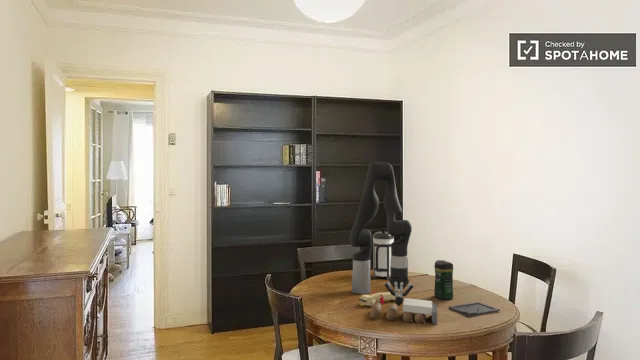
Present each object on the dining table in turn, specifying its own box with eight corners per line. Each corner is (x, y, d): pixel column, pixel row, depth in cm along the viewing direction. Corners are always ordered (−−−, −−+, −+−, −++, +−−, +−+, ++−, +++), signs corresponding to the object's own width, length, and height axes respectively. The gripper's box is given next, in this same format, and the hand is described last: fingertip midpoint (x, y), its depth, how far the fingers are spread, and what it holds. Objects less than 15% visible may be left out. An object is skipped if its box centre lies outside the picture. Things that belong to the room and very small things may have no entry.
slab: (402, 311, 190) (403, 304, 190) (404, 304, 200) (404, 298, 199) (431, 314, 187) (432, 307, 187) (431, 307, 197) (432, 301, 197)
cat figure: (394, 299, 227) (353, 302, 214) (395, 282, 227) (355, 284, 215) (407, 304, 218) (365, 308, 206) (408, 286, 218) (367, 289, 206)
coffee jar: (455, 299, 223) (456, 262, 222) (441, 300, 220) (441, 263, 220) (445, 294, 232) (445, 258, 232) (431, 295, 230) (432, 259, 230)
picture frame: (469, 318, 195) (499, 312, 203) (469, 313, 195) (499, 308, 203) (448, 309, 207) (478, 304, 215) (448, 305, 207) (478, 300, 215)
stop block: (432, 324, 186) (432, 312, 186) (431, 315, 197) (431, 304, 197) (437, 324, 185) (437, 312, 185) (436, 315, 197) (436, 304, 197)
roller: (413, 321, 188) (416, 312, 187) (414, 312, 199) (417, 304, 199) (422, 325, 187) (425, 316, 186) (422, 316, 198) (425, 307, 198)
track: (369, 319, 192) (369, 309, 192) (373, 310, 204) (373, 302, 204) (425, 323, 186) (425, 314, 186) (425, 314, 198) (425, 305, 198)
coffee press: (365, 275, 275) (365, 226, 274) (390, 274, 279) (390, 226, 278) (375, 282, 258) (376, 230, 257) (401, 280, 262) (401, 229, 261)
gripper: (383, 266, 193) (382, 306, 193) (414, 268, 189) (414, 308, 190) (384, 263, 200) (384, 301, 200) (414, 264, 197) (414, 303, 197)
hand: (399, 305), depth 195 cm, fingers closed
